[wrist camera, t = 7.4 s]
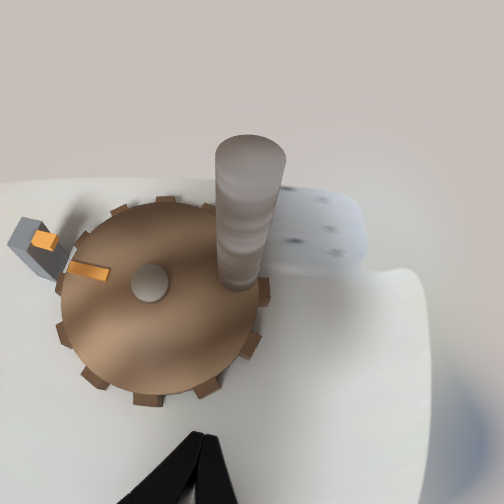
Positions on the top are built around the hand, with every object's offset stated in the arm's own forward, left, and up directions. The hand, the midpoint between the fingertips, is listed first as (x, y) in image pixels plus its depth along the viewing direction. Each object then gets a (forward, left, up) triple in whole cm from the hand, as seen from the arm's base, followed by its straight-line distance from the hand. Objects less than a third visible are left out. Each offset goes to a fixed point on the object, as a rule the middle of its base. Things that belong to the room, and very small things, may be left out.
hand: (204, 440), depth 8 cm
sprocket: (+10, -5, -13) cm, 17 cm away
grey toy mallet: (+20, -1, -13) cm, 24 cm away
